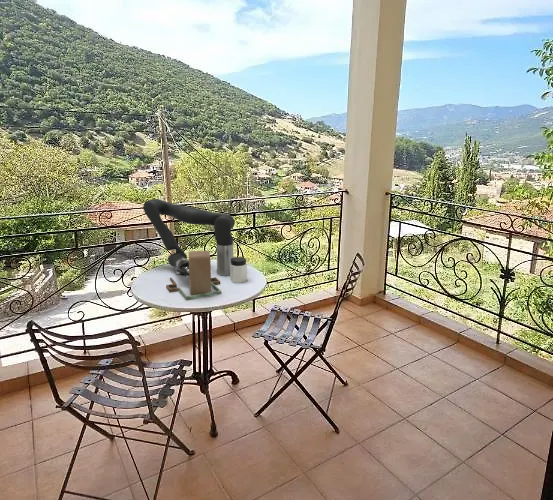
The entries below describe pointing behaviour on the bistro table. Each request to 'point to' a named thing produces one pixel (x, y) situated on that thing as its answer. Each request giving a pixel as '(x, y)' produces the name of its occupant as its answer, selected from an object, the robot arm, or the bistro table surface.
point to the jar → (238, 270)
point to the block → (199, 272)
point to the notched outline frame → (214, 282)
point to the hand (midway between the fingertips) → (193, 276)
